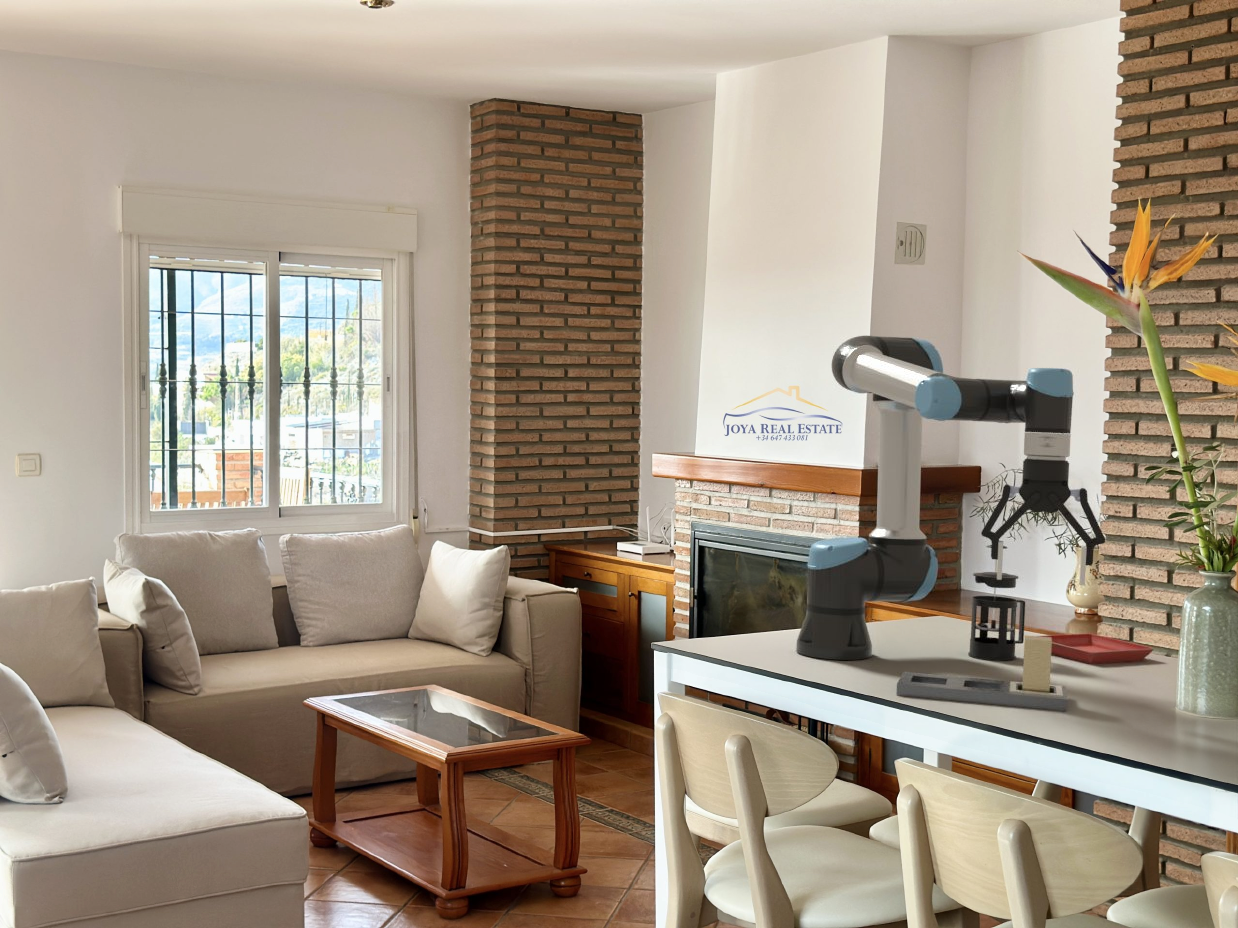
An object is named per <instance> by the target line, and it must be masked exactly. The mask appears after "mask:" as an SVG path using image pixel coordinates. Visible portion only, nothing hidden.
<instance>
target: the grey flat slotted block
mask: <svg viewBox="0 0 1238 928" xmlns="http://www.w3.org/2000/svg"><path fill="white" fill-rule="evenodd" d="M1022 686H1023V681H1012V680H1011V681H1010V680H1002V679H990V678H989V679H987V678H977V677H966V676H955V675H944V674H933V673H922V672H911V671H903V672H902V673H901V675H900V678H899V679H898V681H897V683H896V696H900V697H901V696H903V697H912V698H923V699H924V698H925V699H931V700H932V699H933V700H943V701H954V702H966V703H973V704H974V703H975V704H985V705H996V706H1007V707H1017V708H1027V709H1038V710H1049V711H1061V712H1068V695H1067V694H1068V693H1067V687H1066V686H1065V685H1057V684H1050V689H1049V693H1044V692H1033V691H1022Z"/></svg>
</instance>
